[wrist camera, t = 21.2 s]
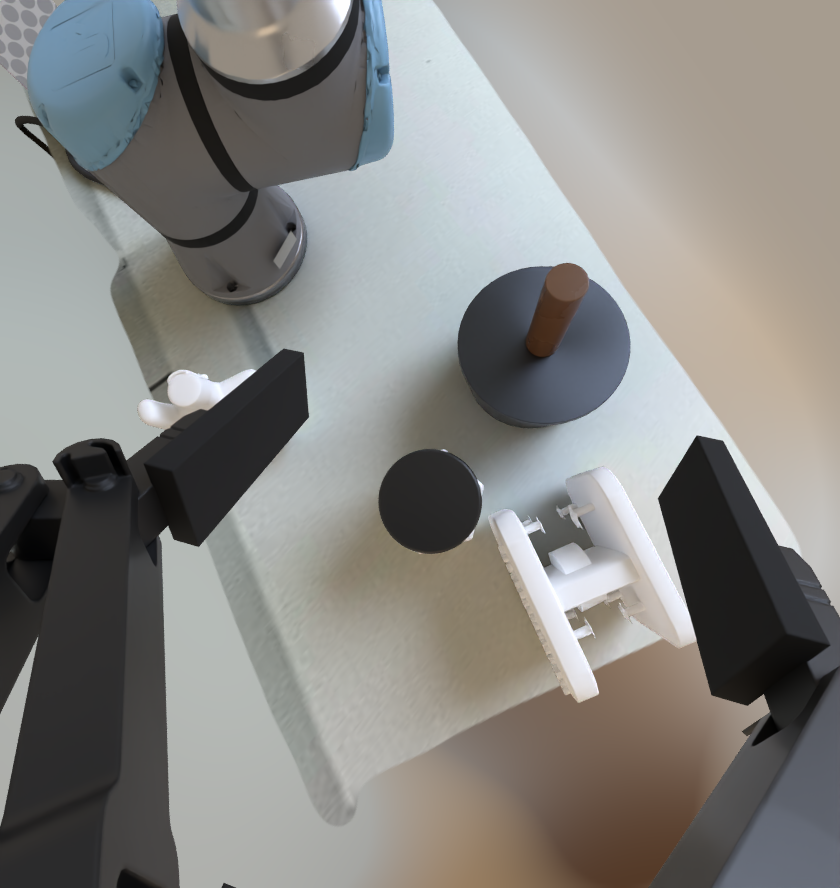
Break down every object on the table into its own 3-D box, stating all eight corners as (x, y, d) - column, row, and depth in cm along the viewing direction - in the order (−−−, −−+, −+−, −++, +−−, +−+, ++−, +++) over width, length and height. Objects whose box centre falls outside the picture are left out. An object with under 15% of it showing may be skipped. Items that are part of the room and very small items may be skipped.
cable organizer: (647, 616, 41) (716, 658, 30) (546, 659, 42) (576, 717, 30) (575, 474, 44) (613, 462, 32) (480, 515, 44) (485, 519, 33)
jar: (411, 452, 46) (392, 433, 34) (486, 469, 45) (493, 456, 33) (391, 534, 45) (364, 544, 33) (467, 554, 44) (467, 572, 32)
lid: (425, 361, 38) (411, 301, 29) (524, 246, 40) (544, 151, 30) (557, 461, 36) (593, 434, 26) (659, 333, 37) (732, 260, 27)
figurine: (318, 432, 47) (250, 399, 33) (243, 470, 48) (143, 453, 33) (293, 376, 49) (217, 320, 34) (220, 413, 49) (114, 373, 34)
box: (143, 112, 57) (-106, -192, 32) (94, 153, 56) (-193, -119, 32) (111, 74, 58) (-152, -243, 33) (63, 114, 58) (-235, -174, 33)
